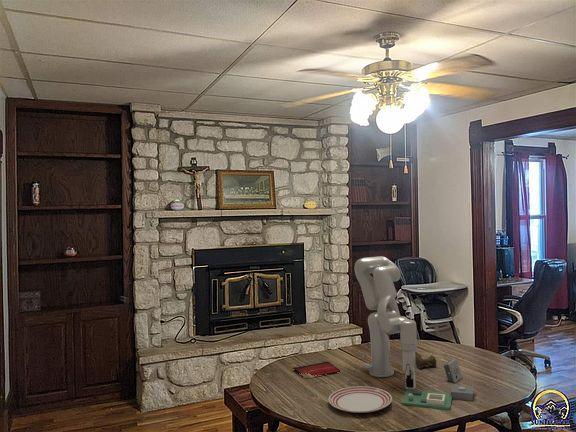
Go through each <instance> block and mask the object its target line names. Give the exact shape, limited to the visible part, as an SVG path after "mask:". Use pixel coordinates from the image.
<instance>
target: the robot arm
mask: <svg viewBox="0 0 576 432" xmlns="http://www.w3.org/2000/svg"><path fill="white" fill-rule="evenodd" d="M353 267H354V269H353V270H354V274H355V277H356V280H357V281H358V283H359V285H360V288H361V292H362V296H363V299H364V302H365V306H366V308H367V309H368V310H370V311H375V310H376V311H375V312H372V313H370V314H369V315H368V317H367V324H368V328H369V337H370V350H371V351H370V353H371V354H370V356H371V357H370V358H371V360H370V361H371V363H369V364H367V363H364V364H363V368H364V369H365V370H366V369H367V370H369V371H368V374H369V375H370V376H372V377H374V378H375V377H376V378H389V377H392V376H393V375H394V374H395V372H394V371H395V370H394V369H392V366H391V347H390V346H391V345H390V337H389V335H393V334H400V337H399V340H400V350H401V351H402V357H401V358H402V373H406V384H405V388H406V387H410V388H413V379H412V373H413V372H415V369H416V361H415V352H417V351H418V339H417V338H418V337H417V323H416V321H415V320H413V319H410V318H407V317H406V316H403V315H401V313H400V311H399V307H398V303H397V300H396V297H397V296H398V293H397V290H396V287H395V284H394V282H398V281H400V279H401V277H402V274H401V270H400V268H399V266H397V264H395V263H394V262H393V261H391V260H390V259H389V258H387V257H385V256H381V255H379V256H369V257H368V256H367V257H361V258H359V259H357V260H356V262H355V263H354V266H353ZM371 274H372V275H371ZM410 371H411V372H410ZM410 374H411V375H410Z"/></svg>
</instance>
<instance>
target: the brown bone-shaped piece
mask: <svg viewBox="0 0 576 432" xmlns="http://www.w3.org/2000/svg"><path fill="white" fill-rule="evenodd" d="M415 361H416V365H415V367H416V368H417V369H419V370H421V369H422V368H424V367H427V366H428V367H429V366H430V367H432V368H436V367H437V359H436V357H435V356H434V355H432V354H431V355H430V356H429V357H428V358H423V357H422V355H421V354H420V353H418V352H417V351H415Z"/></svg>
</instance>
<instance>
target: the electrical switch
mask: <svg viewBox="0 0 576 432" xmlns="http://www.w3.org/2000/svg"><path fill="white" fill-rule="evenodd" d="M443 369H444V371H445V375H446V378H447V381H448V382H452V383H454V384H456V383H457V382H459V380H461V379H462V378H463V375H462V372H461V369H460V365H459V363H458V360H457V358H454V359H452V360H450V361H448V362H446V363H445V364H444V365H443Z"/></svg>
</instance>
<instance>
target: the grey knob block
mask: <svg viewBox="0 0 576 432" xmlns="http://www.w3.org/2000/svg"><path fill="white" fill-rule="evenodd" d="M450 393H451V396H452V400H460V401H461V400H463V401H472V402H473V401H474V386H472V385H471V386H470V385H469V386H468V385H459V384H451V389H450Z"/></svg>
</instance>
